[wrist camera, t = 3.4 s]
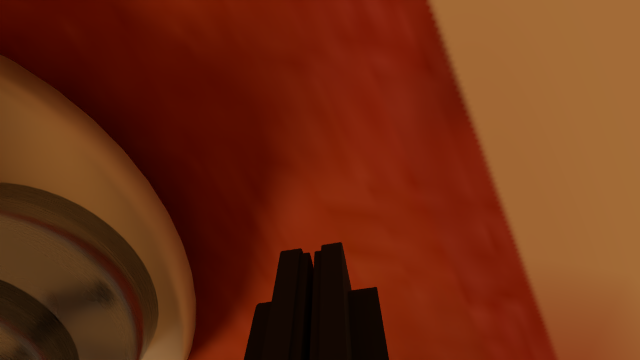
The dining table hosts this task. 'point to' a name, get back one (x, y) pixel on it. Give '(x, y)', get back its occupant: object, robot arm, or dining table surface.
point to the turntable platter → (96, 191)
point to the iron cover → (69, 283)
